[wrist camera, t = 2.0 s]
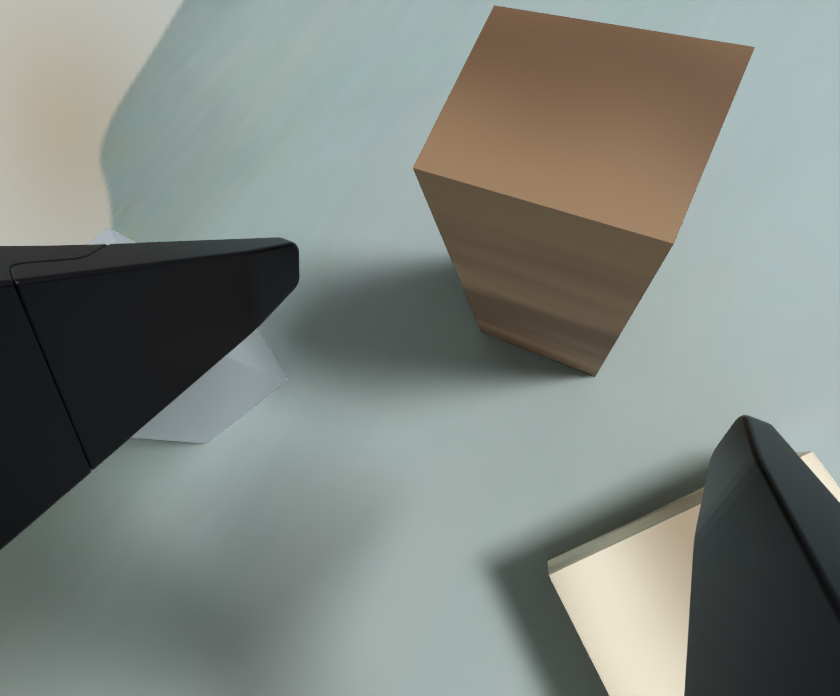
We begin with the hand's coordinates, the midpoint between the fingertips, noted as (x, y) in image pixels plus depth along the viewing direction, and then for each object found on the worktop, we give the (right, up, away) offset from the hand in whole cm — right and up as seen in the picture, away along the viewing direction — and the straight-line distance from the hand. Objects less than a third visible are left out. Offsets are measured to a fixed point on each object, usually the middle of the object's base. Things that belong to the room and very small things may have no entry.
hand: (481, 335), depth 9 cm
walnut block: (+5, +1, +11) cm, 12 cm away
